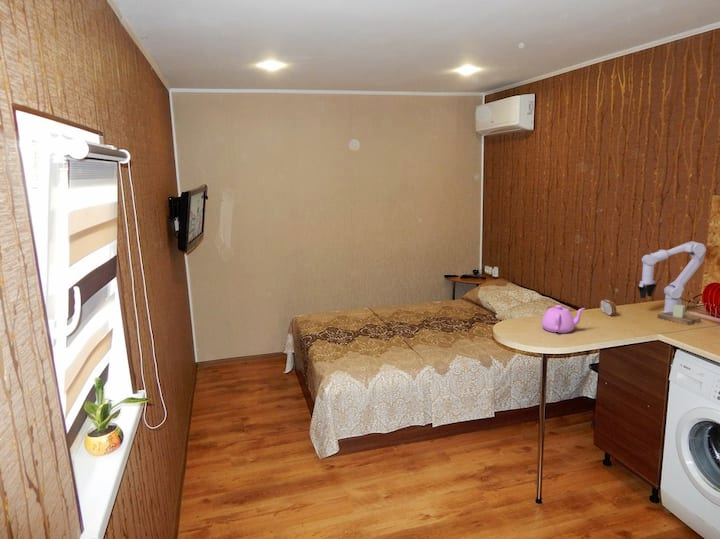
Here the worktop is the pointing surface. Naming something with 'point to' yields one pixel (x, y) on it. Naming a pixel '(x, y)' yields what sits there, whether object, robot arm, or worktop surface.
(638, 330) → the worktop surface
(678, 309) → the sage block
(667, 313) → the walnut slab
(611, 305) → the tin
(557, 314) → the teapot
